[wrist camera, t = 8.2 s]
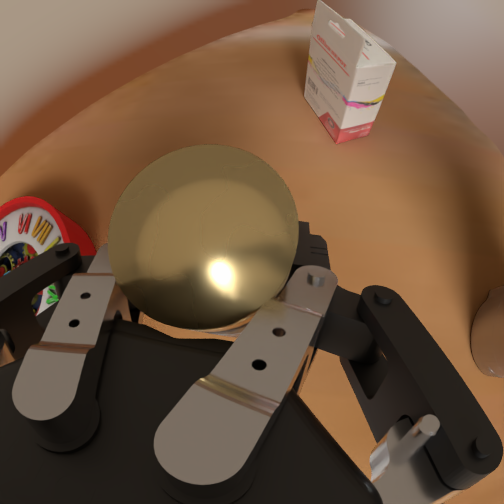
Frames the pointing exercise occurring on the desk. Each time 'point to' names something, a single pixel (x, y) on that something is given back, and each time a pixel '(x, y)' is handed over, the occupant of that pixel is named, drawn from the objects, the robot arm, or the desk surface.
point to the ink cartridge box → (345, 75)
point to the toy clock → (36, 238)
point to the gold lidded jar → (204, 238)
